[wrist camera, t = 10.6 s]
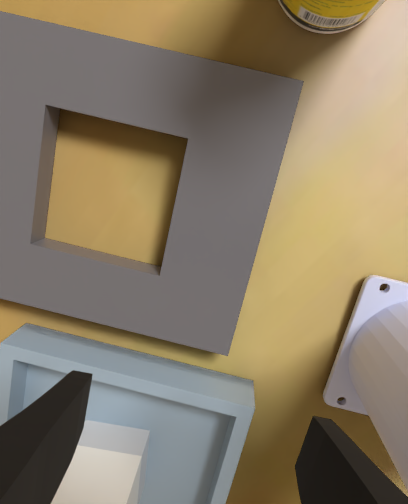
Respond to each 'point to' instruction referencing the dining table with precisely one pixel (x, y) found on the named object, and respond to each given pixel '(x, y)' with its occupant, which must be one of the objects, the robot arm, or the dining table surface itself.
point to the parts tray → (141, 407)
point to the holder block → (189, 189)
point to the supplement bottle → (329, 13)
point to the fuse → (106, 466)
